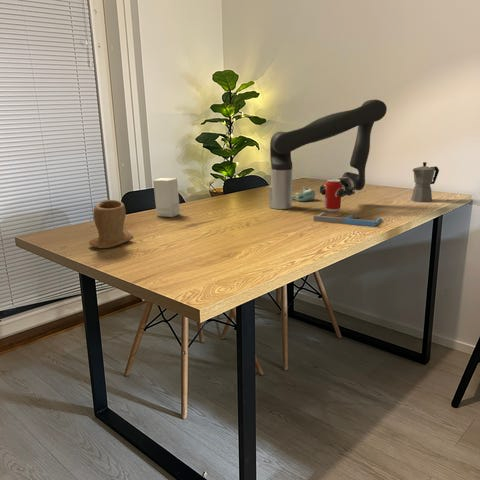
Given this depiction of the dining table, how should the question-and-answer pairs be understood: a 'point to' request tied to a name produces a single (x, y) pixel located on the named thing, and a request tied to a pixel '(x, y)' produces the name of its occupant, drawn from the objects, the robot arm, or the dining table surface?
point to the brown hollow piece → (110, 224)
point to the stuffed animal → (305, 195)
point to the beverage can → (332, 195)
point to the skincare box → (166, 197)
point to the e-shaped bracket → (346, 220)
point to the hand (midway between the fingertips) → (331, 193)
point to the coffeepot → (423, 183)
